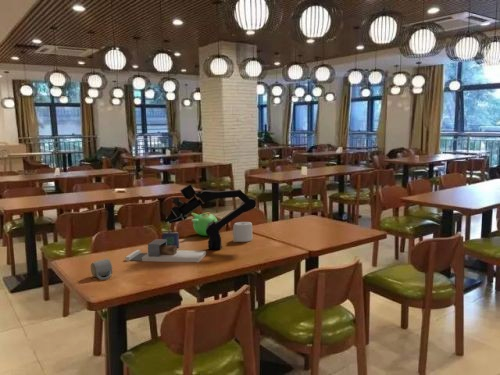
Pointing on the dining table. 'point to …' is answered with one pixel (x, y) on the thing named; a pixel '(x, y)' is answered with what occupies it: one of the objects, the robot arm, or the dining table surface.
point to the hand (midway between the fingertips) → (167, 222)
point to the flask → (171, 238)
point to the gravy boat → (202, 222)
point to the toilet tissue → (242, 232)
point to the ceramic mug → (101, 269)
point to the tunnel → (156, 247)
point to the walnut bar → (168, 249)
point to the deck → (168, 256)
